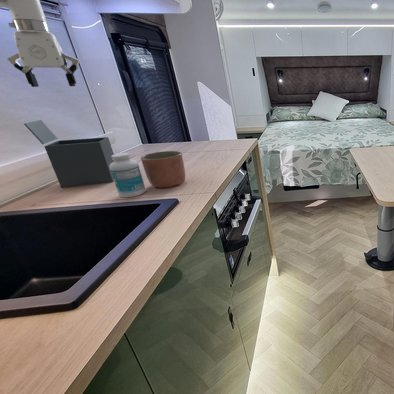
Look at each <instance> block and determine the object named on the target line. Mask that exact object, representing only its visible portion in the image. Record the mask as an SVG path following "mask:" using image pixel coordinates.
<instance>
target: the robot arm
mask: <svg viewBox="0 0 394 394" xmlns="http://www.w3.org/2000/svg"><path fill="white" fill-rule="evenodd" d="M40 1H41V0H0V8H7V9H8V10H9V14H10V17H11V18H12V22H8V26H9V28H11V29H15V31H13V37H14V42H15V46H16V50H17V53H16V54H13V55H11V56H9V57H7V61H8V62H9V63H10V64H11V65H12V66H13V67H14V68H15V69H17V70H18V71H20V72H21V73H22V74H24V75H25V78H26V81H27V83H28V84H29V85H30V86H31V87H32V88H38V87H40V85H39V82H38V80H37V77H36V75H35V74H34V73H32V72H33V71H34V69H35V68H50V69H51V68H52V69H53V68H54V69H55V68H56V69H57V68H60V69H62V70H63V71H64V72H66V73H65V77H66V80H67V83H68V85H69V87H76V84H77V80H76V78H75V72H76V71H77V70H78V68H79V64H80V60H79V59H78V58H75V57H73V56H70V55H69V54H66V53H64V51H63V49H62V47H61V44H60V43H59V41H58V39H57V37H56V36H55V34H54V33H52V32H51V29H50V27H49V23H48V21H47V18H46V15H45V11H44V9H43V7H42V4H41V2H40ZM19 60H20V62H21V64H22V65H21V64H20V62H18V61H19ZM68 61H70V62H72V63H71V65H70V66H68Z"/></svg>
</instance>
